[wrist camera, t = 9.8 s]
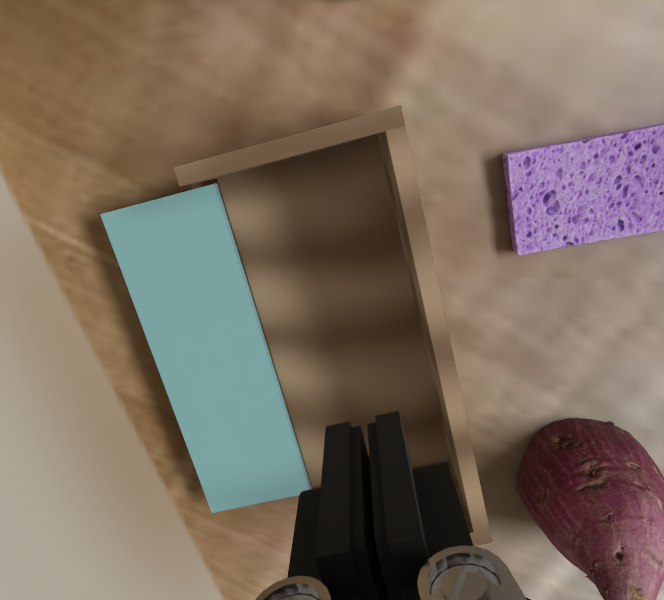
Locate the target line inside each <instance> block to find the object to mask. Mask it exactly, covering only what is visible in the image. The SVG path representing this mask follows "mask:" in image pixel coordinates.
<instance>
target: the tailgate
mask: <svg viewBox="0 0 664 600" xmlns="http://www.w3.org/2000/svg"><path fill="white" fill-rule="evenodd" d="M100 215H101V218H102V220H103V223H104V226H105V228H106V231H107V234H108V237H109V239H110V242H111V245H112V247H113V250H114V253H115V255H116V258H117V261H118V263H119V266H120V269H121V271H122V274H123V277H124V279H125V282H126V285H127V287H128V290H129V293H130V295H131V298H132V301H133V303H134V306H135V309H136V311H137V314H138V317H139V320H140V322H141V325H142V328H143V330H144V333H145V336H146V338H147V341H148V344H149V346H150V349H151V352H152V354H153V357H154V360H155V362H156V365H157V368H158V370H159V373H160V376H161V378H162V381H163V384H164V386H165V389H166V392H167V394H168V397H169V400H170V402H171V405H172V408H173V411H174V413H175V416H176V419H177V421H178V424H179V427H180V429H181V432H182V435H183V437H184V440H185V443H186V445H187V448H188V451H189V453H190V456H191V459H192V461H193V464H194V467H195V469H196V472H197V475H198V477H199V480H200V483H201V485H202V488H203V491H204V493H205V496H206V499H207V502H208V504H209V507H210V510H211V512H212V513H214V512H219V511H224V510H229V509H234V508H239V507H244V506H249V505H254V504H259V503H264V502H269V501H274V500H279V499H284V498H289V497H294V496H299V495H300V493H301V492H302V491H306V490H311V485H310V482H309V479H308V476H307V472H306V469H305V466H304V463H303V460H302V456H301V453H300V450H299V447H298V443H297V440H296V437H295V434H294V430H293V427H292V424H291V421H290V417H289V414H288V411H287V408H286V405H285V401H284V398H283V395H282V392H281V388H280V385H279V382H278V379H277V375H276V372H275V369H274V366H273V363H272V359H271V356H270V353H269V350H268V346H267V343H266V340H265V337H264V333H263V330H262V327H261V324H260V321H259V317H258V314H257V311H256V308H255V304H254V301H253V298H252V295H251V291H250V288H249V285H248V282H247V278H246V275H245V272H244V269H243V266H242V262H241V259H240V256H239V253H238V249H237V246H236V243H235V240H234V236H233V233H232V230H231V227H230V224H229V220H228V217H227V214H226V211H225V207H224V204H223V201H222V198H221V194H220V191H219V188H218V185H217V183H215V184H211V185H208V186H204V187H200V188H197V189H193V190H189V191H185V192H182V193H178V194H174V195H170V196H167V197H163V198H159V199H155V200H152V201H148V202H144V203H140V204H137V205H133V206H129V207H126V208H122V209H118V210H114V211H111V212H107V213H103V214H100Z"/></svg>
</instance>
